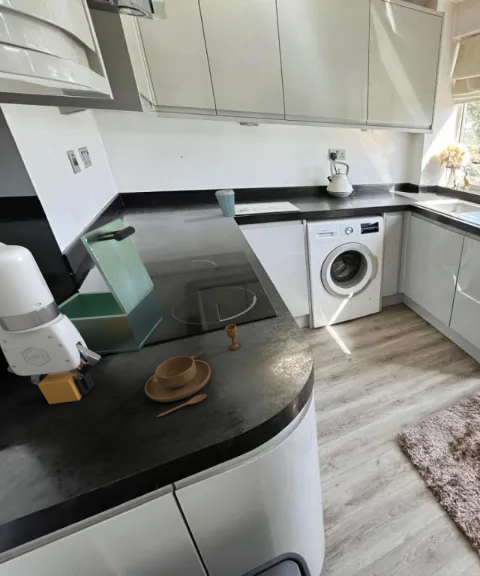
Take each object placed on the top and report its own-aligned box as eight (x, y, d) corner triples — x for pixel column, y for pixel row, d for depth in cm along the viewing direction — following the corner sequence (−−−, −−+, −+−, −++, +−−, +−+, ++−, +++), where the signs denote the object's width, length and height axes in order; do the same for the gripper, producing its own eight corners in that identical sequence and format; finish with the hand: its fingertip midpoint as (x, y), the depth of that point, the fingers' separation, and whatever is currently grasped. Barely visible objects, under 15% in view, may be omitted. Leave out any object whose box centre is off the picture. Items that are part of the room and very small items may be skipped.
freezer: (53, 359, 75) (33, 323, 70) (91, 325, 88) (76, 293, 83) (139, 350, 78) (126, 315, 74) (163, 319, 91) (153, 287, 87)
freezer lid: (79, 236, 65) (106, 232, 66) (117, 218, 78) (139, 215, 79) (123, 314, 74) (147, 310, 74) (151, 286, 87) (170, 283, 87)
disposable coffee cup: (224, 218, 193) (219, 192, 187) (216, 215, 200) (211, 190, 193) (241, 215, 201) (237, 190, 194) (232, 212, 207) (228, 188, 200)
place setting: (144, 371, 72) (136, 350, 69) (239, 341, 82) (234, 321, 80) (150, 424, 59) (139, 400, 56) (260, 380, 70) (256, 358, 67)
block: (49, 404, 63) (37, 384, 61) (65, 386, 67) (55, 367, 65) (78, 400, 64) (68, 381, 62) (93, 382, 68) (84, 364, 66)
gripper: (-50, 331, 52) (6, 413, 60) (72, 321, 56) (109, 399, 64) (-11, 309, 59) (35, 385, 67) (97, 301, 62) (128, 374, 70)
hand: (71, 391), depth 65 cm, fingers closed on block, 5 cm apart
